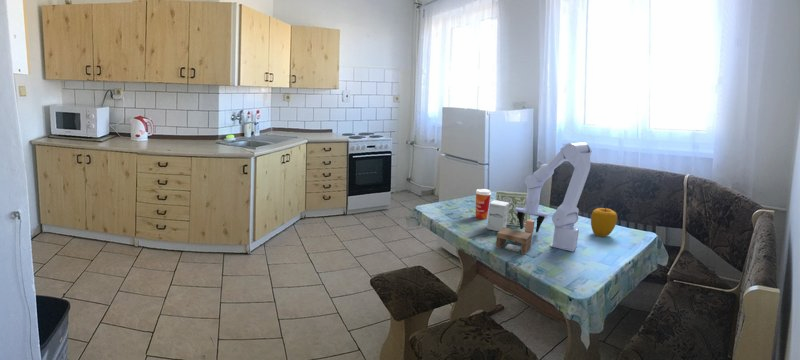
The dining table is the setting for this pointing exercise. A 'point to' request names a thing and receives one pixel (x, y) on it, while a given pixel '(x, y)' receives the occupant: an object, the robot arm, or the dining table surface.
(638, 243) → the dining table surface
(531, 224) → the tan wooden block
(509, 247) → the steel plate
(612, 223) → the apple
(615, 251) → the dining table surface
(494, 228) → the supplement box
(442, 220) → the dining table surface
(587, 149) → the robot arm
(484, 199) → the paper cup
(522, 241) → the walnut shelf
